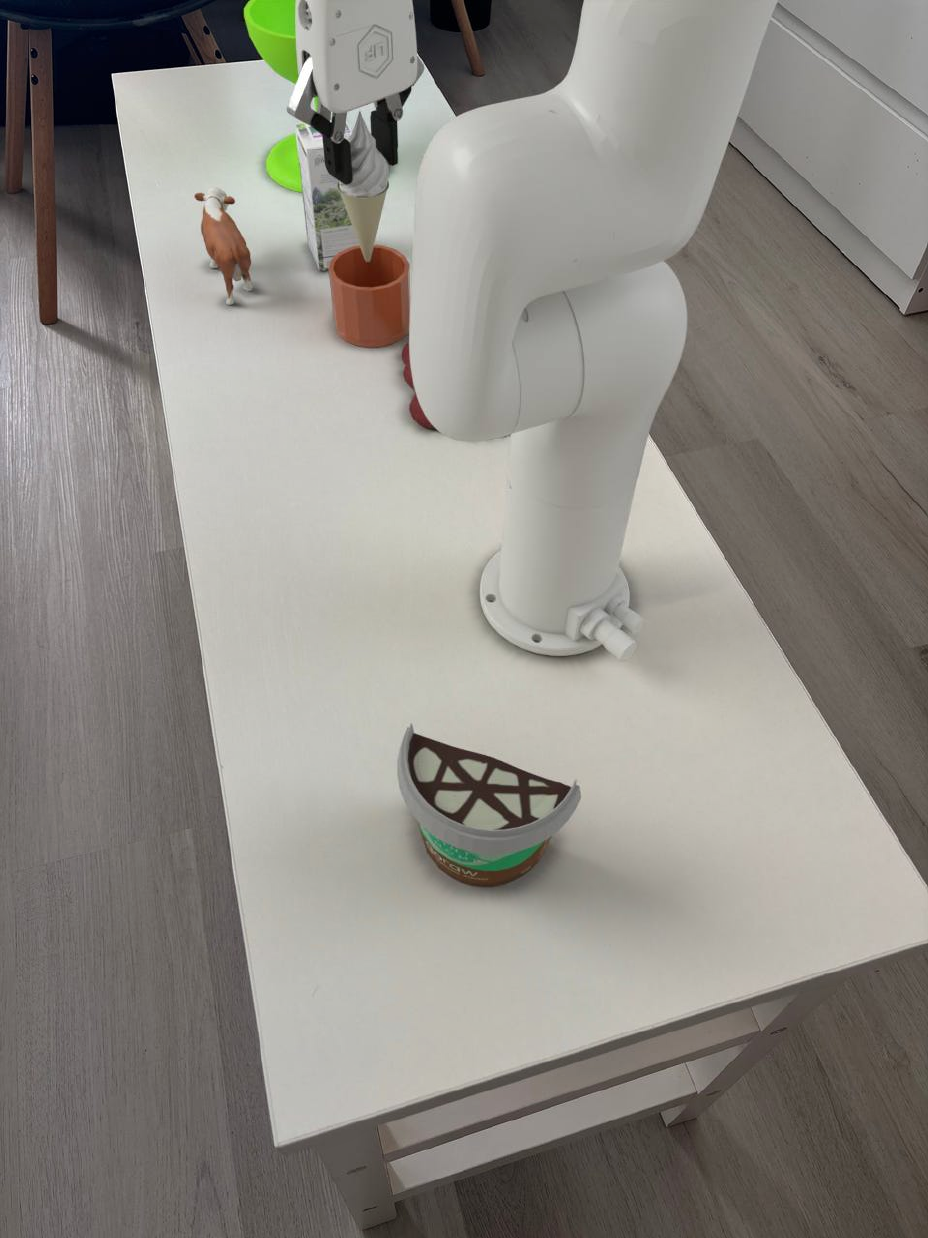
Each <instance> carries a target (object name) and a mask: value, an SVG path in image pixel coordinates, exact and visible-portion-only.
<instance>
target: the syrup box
mask: <svg viewBox="0 0 928 1238" xmlns="http://www.w3.org/2000/svg"><path fill="white" fill-rule="evenodd" d="M330 122H332V119H331V120H330ZM294 129H295V130H294V131H295V134H296V141H297V150H298V159H299V167H300V176H301V186H302V193H301V194H302V203H303V212H304V220H305V230H306V240H307V245H308V247H309V250H310V252H311V255H312V257H313V260H314V261H315V264H316V266H317V269H318V271H320V272H324V271H329V265H330V261H331V260H332V259H333V258H334V257H335V256H336V255H337V254H338V253H339V252H341V251H343V250H345V249H348V248H350V247H354V246H359V242H358V240H357V237H356V234H355V232H354V229H353V226H352V224H351V221H350V218H349V216H348V213H347V210H346V208H345V205H344V202H343V199H342V197H341V194H340V192H339V191H338V189H337V182H338V180H337V179H336V178H334V177H333V176H331V175H330V174H329V173H328V171H327V169H326V167H325V160H324V149H323V139H322V134H320V133H319V132H317V131H316V130H315V129H314V128H313V127H311V126H310V125H308V124H306V123H300V124H295V126H294ZM352 130H353V129H352V127H351V124H350V123H349V122H348V120H347V119H346V126H345V134H344V138H345V139H347V140H348V139H349V137H350V136H351V134H352V132H353V131H352ZM348 141H349V140H348ZM349 142H350V141H349Z"/></svg>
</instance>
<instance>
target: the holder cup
mask: <svg viewBox="0 0 928 1238" xmlns="http://www.w3.org/2000/svg"><path fill="white" fill-rule="evenodd" d="M410 265H411V264H410V263H409V260H408V259H407V257H406V255H404V254H403V253H401V252H400V251H399V250H397V249H395V248H393V247H389V246H386V245H383V244H374V247H373V251H372V255H371V260H370V262H366V261H365V258H364V256H363V253H362V250H361V248H360V245H359V246H354V247H350V248H348V249H345V250H343V251H341V252H339V253H338V254H337V255H336V256H335V257H334V258H333V259H332V260H331V261H330V265H329V270H328V277H329V278H328V279H329V288H330V289H329V290H330V297H331V308H332V309H331V310H332V318H333V322H334V329H335V331H336V334H337V335H338V336H339V337H340V338H341V339H342V340H343V341H345V342H347V343H349V344H351V345H354V346H356V347H361V348H382V347H387V346H390V345H393V344H395V343H397V342H399V341H401V340H403V338H405V337H406V336H407V334H409V323H410V300H411V267H410Z"/></svg>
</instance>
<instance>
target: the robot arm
mask: <svg viewBox="0 0 928 1238" xmlns="http://www.w3.org/2000/svg"><path fill="white" fill-rule="evenodd" d="M778 3H779V0H583V3H582V8H581V14H580V20H579V25H578V26H579V27H578V32H577V39H576V44H575V48H574V53H573V57H572V61H571V64H570V66H569V69H568V71H567V74H566V75H565V77H564V79H563V80H562V81H561V82H559V83H558V84H557V85H555V86H554V87H553V88H551V89H549V90H548V91H546V92H543V93H540V94H536V95H531V96H525V97H520V98H516V99H515V98H514V99H510V100H505V101H501V102H497V103H491V104H487V105H484V106H480V107H477V108H474V109H471V110H468V111H466V112H463V113H461V114H459V115H457V116H455V117H453V118H452V119H451V120H449V121H448V122H446V124H444V125H443V126H442V127H440V129H439V130H438V131H437V132H436V133H435V134H434V136H433V138H432V139H431V141H430V142H429V144H428V146H427V148H426V150H425V153H424V155H423V156H422V160H421V163H420V166H419V168H418V174H417V179H416V188H415V197H414V210H413V212H414V213H413V232H412V233H413V234H412V253H411V254H412V256H411V257H412V258H411V276H410V298H411V300H410V323H409V331H408V335H409V336H408V342H409V353H410V366H411V373H412V379H413V384H414V389H415V392H416V395H417V398H418V401H419V404H420V406H421V408H422V410H423V412H424V414H425V416H426V417H427V419H428V420H429V422H430V423H431V424H432V425H433V426H434V427H435V428H436V429H435V430H437V431H438V432H439V433H440V434H442V435H443V436H445V437H447V438H449V439H451V440H454V441H457V442H463V443H478V442H479V443H480V442H486V441H489V440H494V439H498V438H502V437H505V436H509V435H510V436H509V444H508V454H507V468H506V481H505V482H506V483H505V497H504V508H503V522H502V523H503V524H502V537H501V548H500V550H497V552H496V553H495V554H494V555H493V556H492V557H491V558H490V559H489V561H488V562H487V564H486V565H485V567H484V569H483V571H482V575H481V578H480V584H479V599H480V600H479V601H480V606H481V608H482V612H483V614H484V617H485V618H486V619H487V622H488V623H489V625H490V626H491V627H492V628H493V629H494V630H495V632H497V633H498V635H500V636H501V638H502V637H503V638H504V639H505V640H506V641H508V642H509V643H511V644H513V645H515V646H516V647H518V648H521V649H522V650H525V651H528V652H532V653H535V654H537V655H538V654H539V655H546V656H552V657H564V656H566V657H567V656H574V655H579V654H583V653H586V652H589V651H592V650H595V649H597V648H599V647H600V646H603V647H604V648H605V649H606V651H608V652H609V653H610V654H612V655H613V656H614V657H615V658H616V659H617V660H619V661H620V662H621V663H623V662H626V661H627V660H629V658H630V657H631V656H633V654H634V653H635V651H636V650H637V649H638V642H637V641H635V640H634V639H633V637H630V636H629V635H628V634H627V633H626V632H625V631H624V630H622V629H621V627H622V626H624V627H626V628H627V629H628V630H629V631H631V632H632V633H633V634H636V633H639V631H641V630H642V628H643V627H644V626H645V623H646V619H645V618H644V617H642V616H641V615H640V614H638V613H637V612H636V611H635V610H632V609H631V608H629V606H630V596H631V594H630V593H631V592H630V588H629V583H628V580H627V578H626V575H625V573H624V571H623V570H622V568H621V567H620V561H621V557H622V551H623V548H624V542H625V537H626V533H627V528H628V524H629V519H630V515H631V511H632V505H633V502H634V496H635V491H636V486H637V482H638V478H639V477H640V476H639V475H640V471H641V466H642V462H643V458H644V454H645V450H646V446H647V442H648V438H649V434H650V431H651V428H652V426H653V425H652V424H653V422H654V419H655V417H656V415H657V412H658V410H659V408H660V406H661V404H662V401H663V399H664V397H665V395H666V393H667V391H668V389H669V387H670V385H671V383H672V381H673V379H674V376H675V374H676V372H677V370H678V367H679V364H680V361H681V359H682V355H683V352H684V349H685V344H686V339H687V331H688V309H687V308H688V307H687V302H686V297H685V293H684V290H683V288H682V285H681V282H680V280H679V278H678V276H677V275H676V273H675V272H674V271H673V269H672V268H671V266H670V265H669V264H668V263H666V262H665V261H666V260H668V259H670V258H672V257H673V256H675V255H676V254H678V253H679V252H680V251H681V250H682V249H683V248H684V247H685V246H686V245H687V244H688V243H689V242H690V240H691V238H692V237H693V235H694V234H695V233H696V231H697V229H698V226H699V224H700V222H701V220H702V217H703V216H704V213H705V210H706V208H707V205H708V202H709V200H710V197H711V194H712V192H713V189H714V185H715V183H716V180H717V177H718V174H719V171H720V168H721V165H722V163H723V159H724V157H725V154H726V151H727V147H728V144H729V142H730V139H731V136H732V133H733V131H734V128H735V125H736V122H737V118H738V116H739V114H740V110H741V107H742V105H743V101H744V99H745V95H746V93H747V90H748V87H749V83H750V80H751V78H752V75H753V71H754V68H755V64H756V61H757V58H758V54H759V51H760V48H761V45H762V42H763V40H764V37H765V35H766V32H767V29H768V26H769V23H770V21H771V18H772V16H773V13H774V11H775V10H776V9H775V8H776V6H777V4H778ZM295 31H296V52H297V65H298V74H299V78H298V81H297V83H296V84H295V86H294V89H293V91H292V93H291V96H290V98H289V101H288V102H287V106H286V112H287V114H288V115H290V116H292V117H293V118H295V119H296V120H299V121H300V122H302V123H303V124H308V125H310V126H311V127H313V128H314V129H315V130H316V131H317V132H319V133H320V134H322V139H323V149H324V160H325V167H326V169H327V171H328V173H329V174H330V175H331V176H333V177H334V178H336V179H337V180H339V181H341V182H342V183H344V184H345V185H348V184H350V183H352V181H353V175H352V161H351V147H350V142H349V141H348V140H347V139H345V138H344V134H345V126H346V120H347V117H348V116H347V115H348V113H349V112H351V111H354V110H357V109H359V108H363V107H365V106H367V105H370V104H373V105H374V110H372V111H370V115H369V119H370V122H369V123H370V134H371V135H372V136H373V137H374V138H375V140H376V148H377V150H378V151H379V152H381V154H382V155H383V156H384V158H385V159H386V160H387V162H388V164H389V166H391V167H394V166H397V165H398V164H399V134H398V130H399V129H398V121H400V120H402V118H403V116H404V109H403V107H404V106H405V104H406V102H407V100H408V98H409V97H410V95H411V93H412V89H413V87H414V86H415V85H416V83H417V82H418V81H419V80H420V78H421V77H422V75H423V74H424V71H425V65H424V63H423V61H422V60H421V59H420V57H419V56H418V44H417V31H416V22H415V12H414V4H413V0H296V8H295ZM314 97H318V104H317V112H316V111H315V109H313V108H312V106H311V105H312V102H313V100H314ZM330 117H331V120H332V122H330ZM415 392H414V393H415Z"/></svg>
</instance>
